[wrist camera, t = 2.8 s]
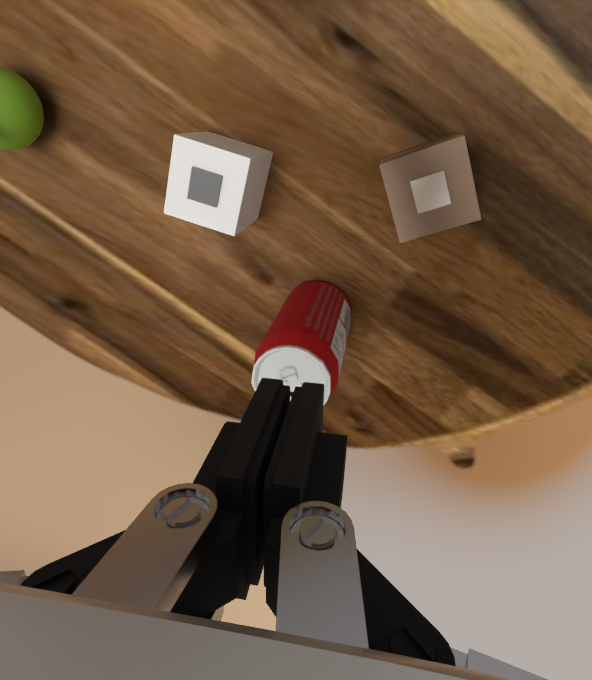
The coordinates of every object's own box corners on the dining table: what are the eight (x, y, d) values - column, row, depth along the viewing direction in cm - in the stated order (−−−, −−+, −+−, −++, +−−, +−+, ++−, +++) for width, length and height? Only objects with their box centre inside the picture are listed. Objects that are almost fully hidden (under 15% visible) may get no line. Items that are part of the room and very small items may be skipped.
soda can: (274, 294, 38) (228, 362, 28) (334, 268, 37) (309, 330, 26) (304, 350, 40) (272, 434, 30) (363, 327, 38) (350, 409, 28)
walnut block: (454, 132, 31) (465, 135, 27) (469, 205, 33) (481, 220, 28) (381, 158, 33) (379, 165, 28) (399, 227, 34) (399, 244, 30)
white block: (273, 151, 34) (249, 158, 28) (258, 218, 36) (233, 236, 31) (208, 131, 34) (172, 134, 29) (197, 199, 36) (162, 213, 31)
